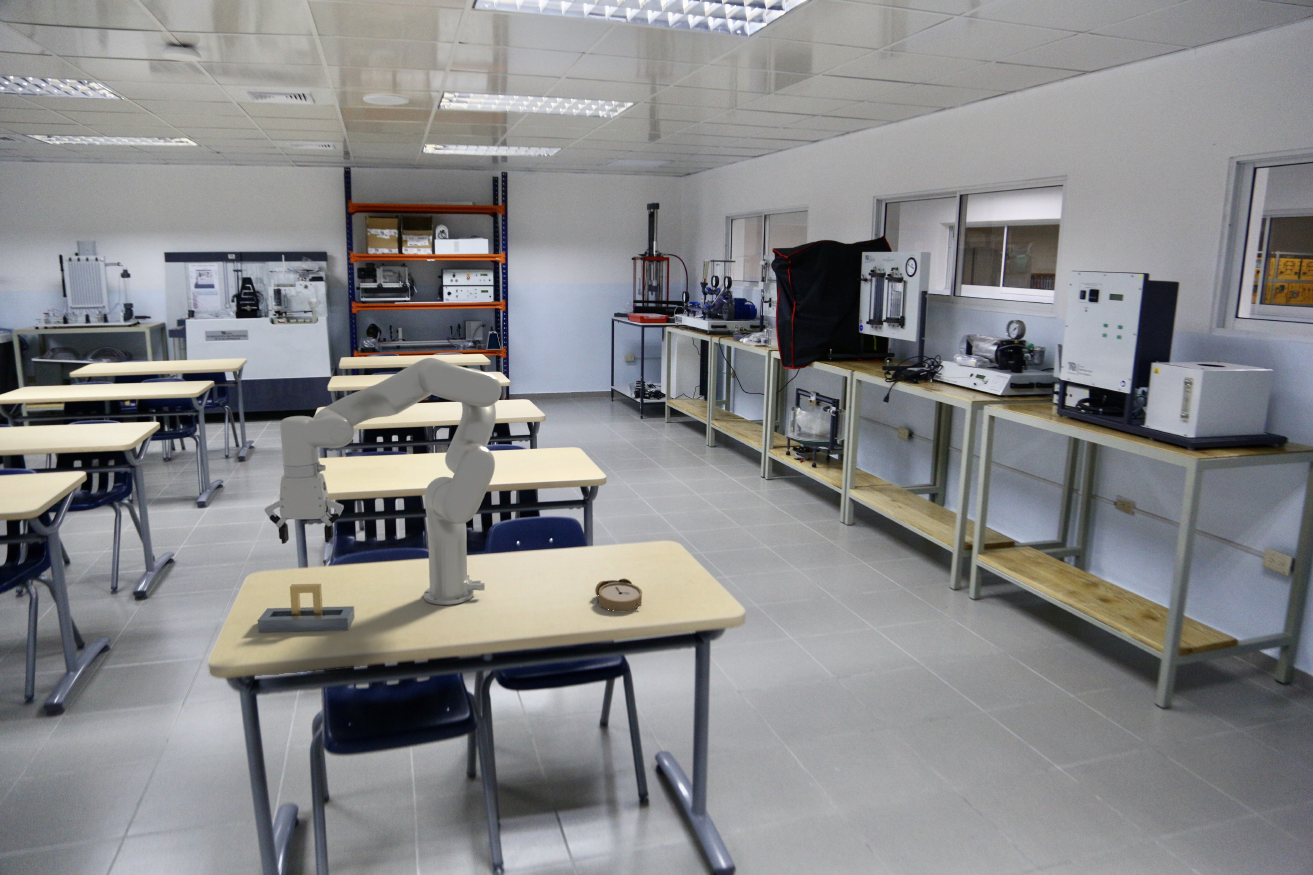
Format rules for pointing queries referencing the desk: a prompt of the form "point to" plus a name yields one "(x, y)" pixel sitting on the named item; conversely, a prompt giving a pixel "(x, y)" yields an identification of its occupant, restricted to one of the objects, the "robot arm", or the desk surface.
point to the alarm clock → (618, 595)
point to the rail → (306, 619)
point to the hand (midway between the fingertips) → (306, 541)
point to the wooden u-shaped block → (306, 588)
